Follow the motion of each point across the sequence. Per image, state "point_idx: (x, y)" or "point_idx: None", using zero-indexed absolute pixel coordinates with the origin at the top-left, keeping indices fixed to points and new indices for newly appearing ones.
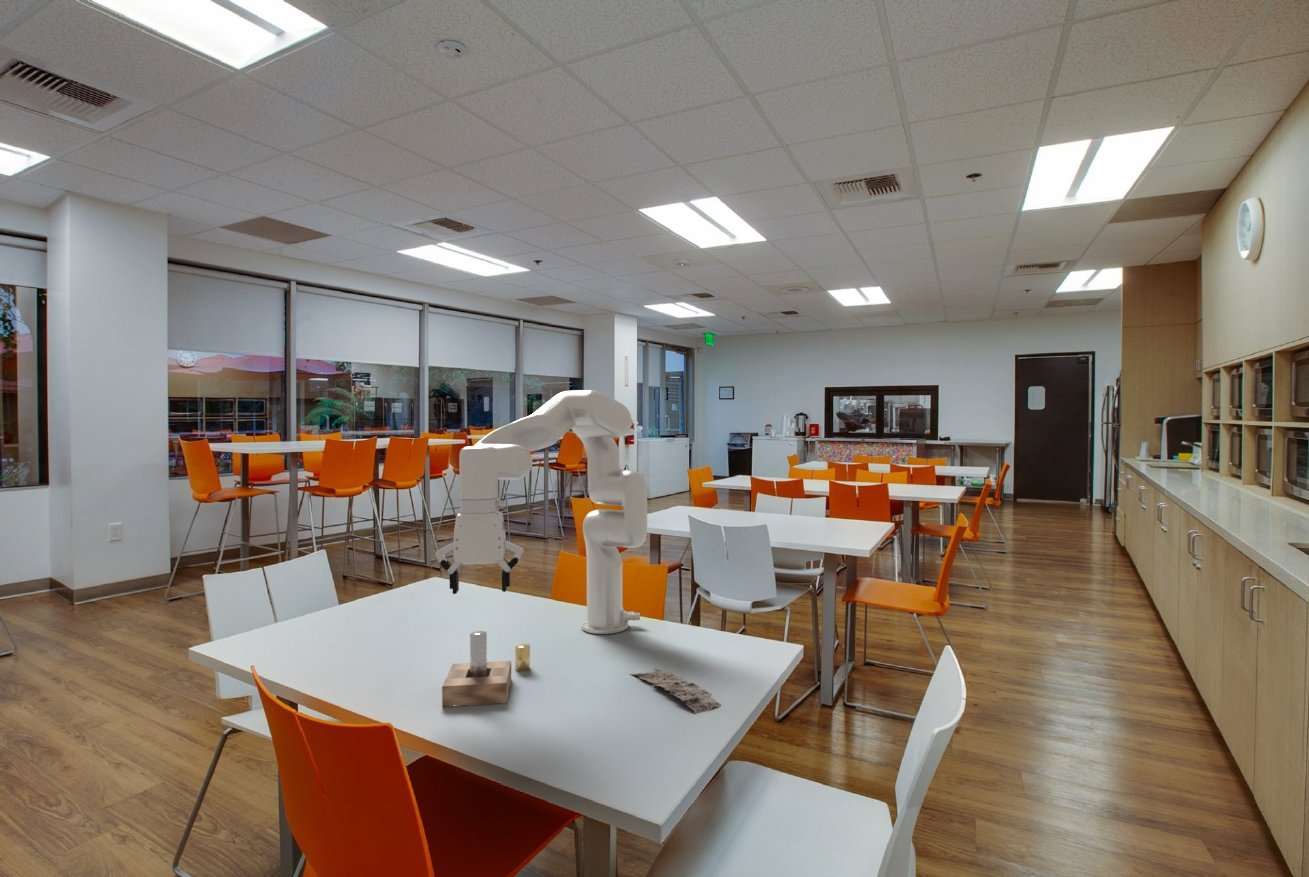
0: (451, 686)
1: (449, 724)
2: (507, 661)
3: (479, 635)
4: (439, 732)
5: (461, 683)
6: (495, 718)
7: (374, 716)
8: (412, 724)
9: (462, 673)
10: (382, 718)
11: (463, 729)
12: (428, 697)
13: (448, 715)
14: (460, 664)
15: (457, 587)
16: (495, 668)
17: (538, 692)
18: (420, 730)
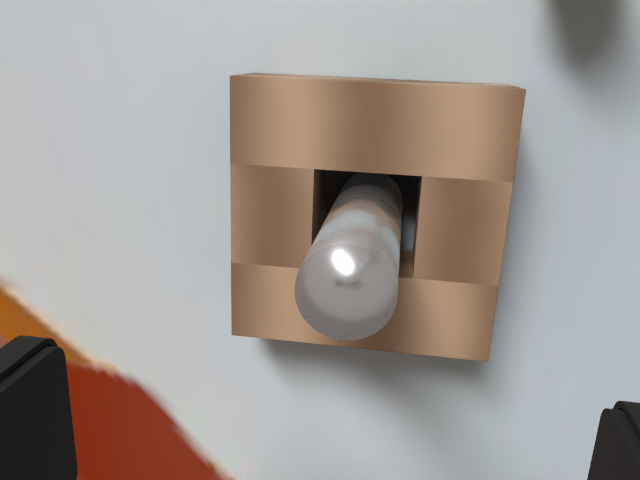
0: (267, 337)
1: (296, 427)
2: (505, 97)
3: (355, 333)
4: (275, 467)
5: (303, 325)
6: (438, 426)
7: (56, 318)
8: (186, 399)
9: (293, 214)
10: (85, 338)
11: (342, 468)
12: (187, 206)
13: (283, 367)
14: (268, 94)
15: (44, 447)
16: (441, 186)
17: (615, 254)
18: (218, 441)
